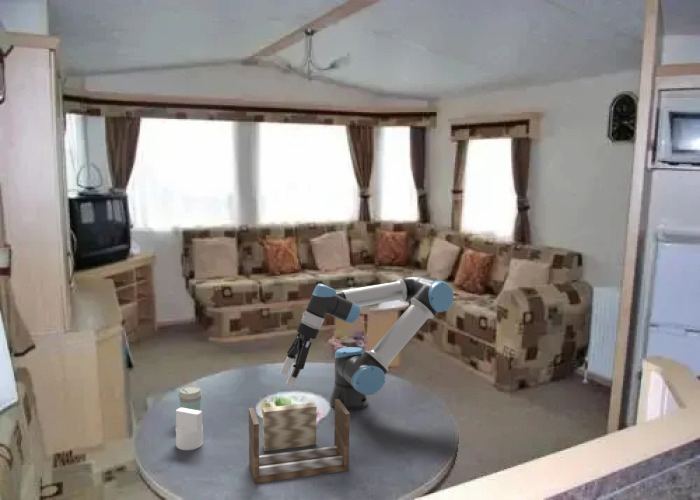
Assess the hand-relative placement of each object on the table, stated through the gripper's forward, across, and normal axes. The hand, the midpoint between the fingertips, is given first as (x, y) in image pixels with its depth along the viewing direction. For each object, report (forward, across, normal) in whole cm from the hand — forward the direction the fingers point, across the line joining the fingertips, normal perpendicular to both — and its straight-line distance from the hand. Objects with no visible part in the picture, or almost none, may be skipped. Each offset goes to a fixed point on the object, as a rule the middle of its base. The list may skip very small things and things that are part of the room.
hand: (286, 379), depth 209 cm
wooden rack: (+19, +25, +8) cm, 33 cm away
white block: (+32, +1, -23) cm, 39 cm away
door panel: (+19, +10, +8) cm, 23 cm away
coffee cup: (+30, -18, -23) cm, 42 cm away
